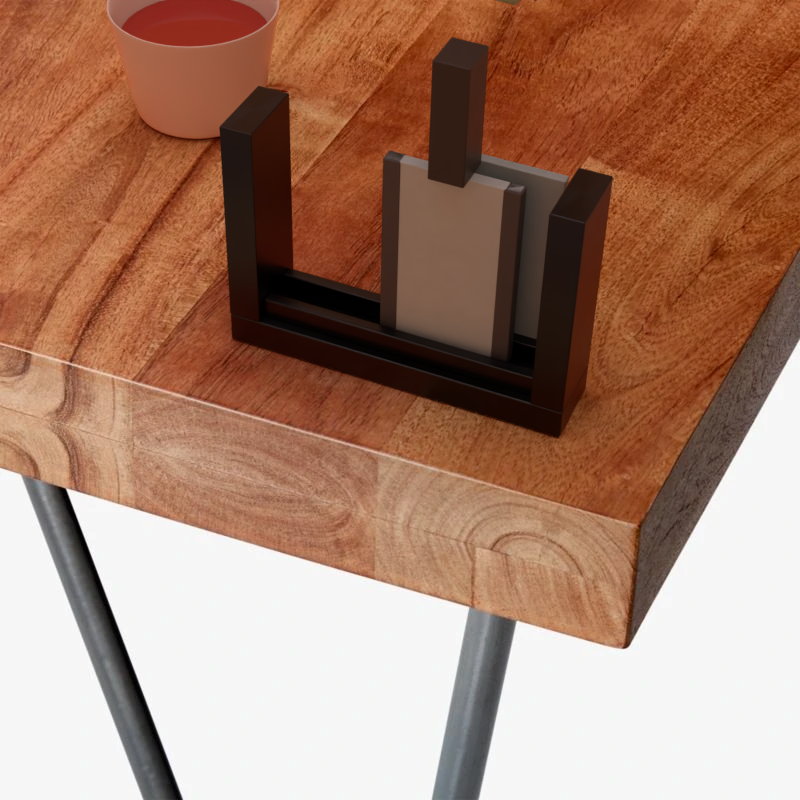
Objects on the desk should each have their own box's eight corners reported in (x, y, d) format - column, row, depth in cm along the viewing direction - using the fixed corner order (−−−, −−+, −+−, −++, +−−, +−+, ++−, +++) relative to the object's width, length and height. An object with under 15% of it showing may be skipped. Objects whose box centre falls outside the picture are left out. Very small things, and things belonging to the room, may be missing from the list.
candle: (163, 51, 95) (155, -51, 91) (308, 83, 93) (306, -19, 89) (87, 131, 89) (74, 26, 85) (240, 168, 87) (235, 61, 82)
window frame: (231, 339, 76) (218, 126, 69) (266, 294, 79) (258, 84, 71) (559, 438, 72) (585, 223, 64) (585, 388, 74) (613, 175, 67)
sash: (373, 338, 74) (377, 47, 64) (391, 313, 75) (398, 23, 65) (501, 376, 72) (526, 83, 62) (517, 349, 74) (544, 58, 64)
